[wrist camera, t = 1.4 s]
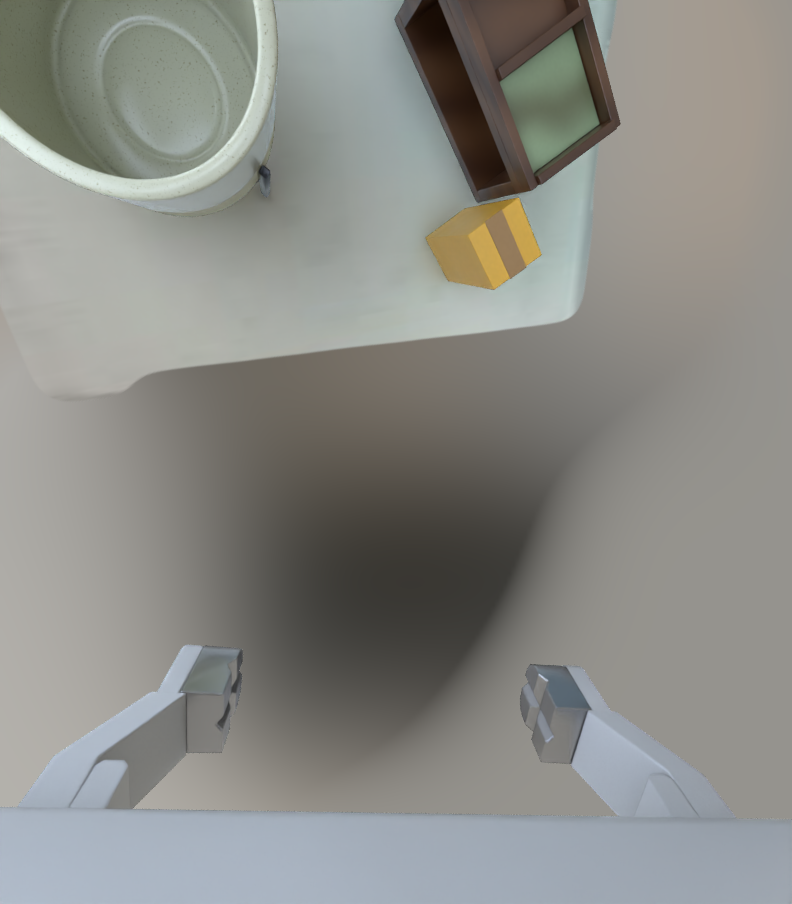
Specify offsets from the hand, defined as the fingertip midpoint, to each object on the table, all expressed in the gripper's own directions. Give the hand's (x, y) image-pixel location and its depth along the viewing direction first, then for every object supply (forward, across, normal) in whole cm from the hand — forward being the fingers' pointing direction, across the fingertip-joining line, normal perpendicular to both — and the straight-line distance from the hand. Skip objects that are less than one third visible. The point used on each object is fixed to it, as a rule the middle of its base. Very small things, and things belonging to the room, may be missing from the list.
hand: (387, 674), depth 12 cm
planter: (+38, +19, -25) cm, 49 cm away
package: (+44, -8, -19) cm, 49 cm away
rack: (+42, -7, -34) cm, 54 cm away
